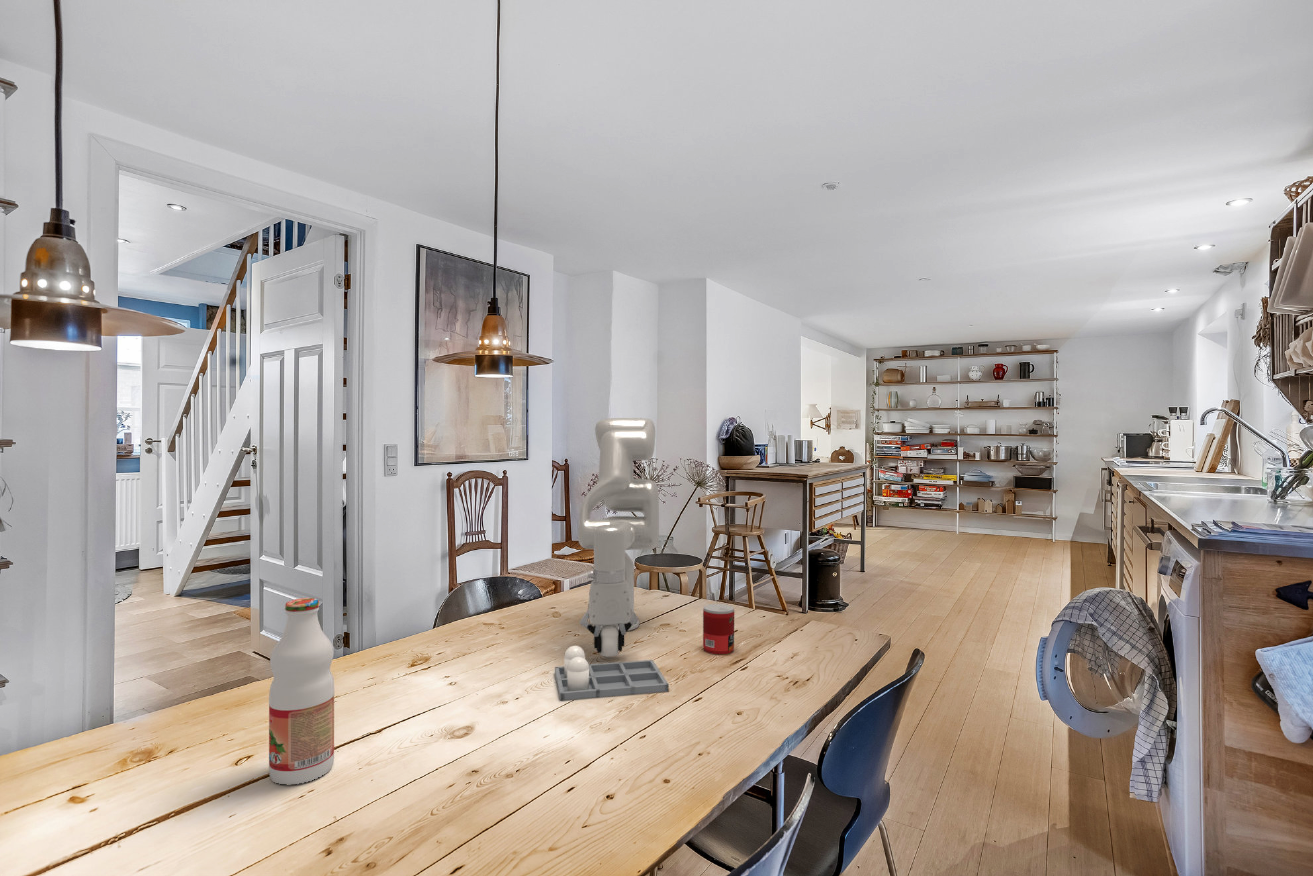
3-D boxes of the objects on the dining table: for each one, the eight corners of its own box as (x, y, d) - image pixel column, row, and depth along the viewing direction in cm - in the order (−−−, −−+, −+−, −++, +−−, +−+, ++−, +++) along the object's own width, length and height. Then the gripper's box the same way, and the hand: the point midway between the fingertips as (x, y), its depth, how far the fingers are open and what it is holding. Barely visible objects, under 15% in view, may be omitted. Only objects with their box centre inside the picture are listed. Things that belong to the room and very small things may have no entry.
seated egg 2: (566, 688, 141) (566, 654, 141) (587, 686, 142) (587, 653, 142) (568, 696, 137) (568, 661, 137) (590, 694, 138) (590, 660, 138)
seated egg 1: (563, 675, 148) (563, 643, 148) (583, 674, 150) (583, 642, 149) (565, 683, 144) (565, 650, 144) (586, 681, 145) (586, 648, 145)
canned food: (735, 655, 164) (735, 611, 164) (703, 654, 165) (704, 611, 165) (732, 645, 172) (732, 603, 172) (702, 644, 172) (702, 603, 172)
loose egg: (598, 650, 161) (598, 621, 161) (616, 649, 162) (616, 620, 162) (601, 657, 157) (601, 627, 157) (620, 655, 158) (620, 626, 158)
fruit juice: (320, 785, 103) (320, 608, 103) (257, 788, 102) (257, 609, 102) (343, 756, 112) (343, 593, 112) (285, 758, 111) (285, 594, 111)
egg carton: (554, 675, 150) (554, 667, 150) (652, 668, 155) (652, 659, 155) (560, 703, 135) (560, 693, 135) (668, 693, 140) (668, 684, 140)
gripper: (576, 581, 153) (576, 658, 154) (646, 578, 157) (646, 653, 158) (572, 574, 161) (572, 647, 161) (640, 570, 165) (640, 642, 165)
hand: (609, 649), depth 160 cm, fingers closed on loose egg, 4 cm apart
